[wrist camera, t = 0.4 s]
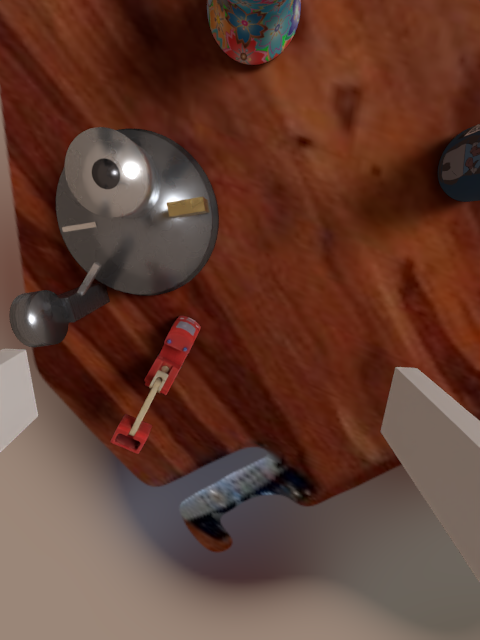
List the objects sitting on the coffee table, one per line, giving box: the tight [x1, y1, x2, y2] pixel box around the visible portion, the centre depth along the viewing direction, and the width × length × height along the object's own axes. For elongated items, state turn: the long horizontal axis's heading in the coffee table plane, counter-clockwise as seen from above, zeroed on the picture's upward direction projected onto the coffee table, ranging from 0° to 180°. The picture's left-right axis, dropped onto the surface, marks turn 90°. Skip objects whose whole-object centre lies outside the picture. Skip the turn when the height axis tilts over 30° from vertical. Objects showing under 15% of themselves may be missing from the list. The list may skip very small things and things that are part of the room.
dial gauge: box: [10, 262, 110, 347], centre depth 30 cm, size 6×5×13 cm
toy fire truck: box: [111, 316, 201, 454], centre depth 35 cm, size 3×14×10 cm, turn 152°
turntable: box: [56, 130, 213, 294], centre depth 30 cm, size 16×16×6 cm
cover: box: [65, 127, 161, 218], centre depth 28 cm, size 7×7×5 cm
